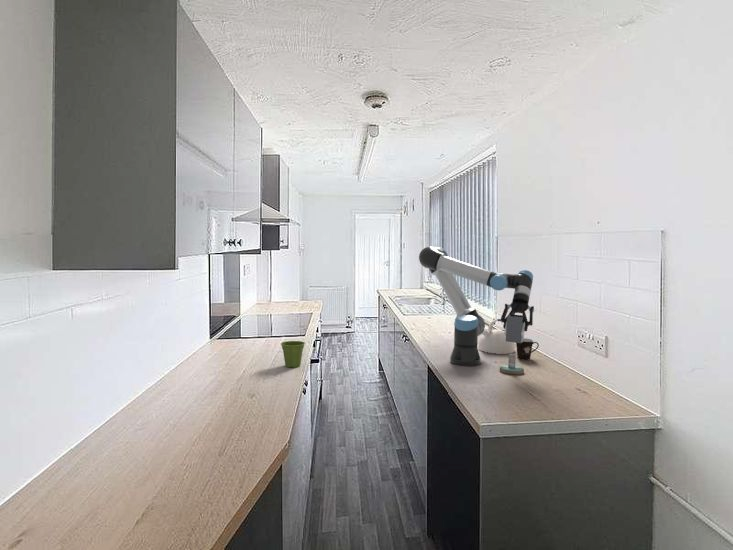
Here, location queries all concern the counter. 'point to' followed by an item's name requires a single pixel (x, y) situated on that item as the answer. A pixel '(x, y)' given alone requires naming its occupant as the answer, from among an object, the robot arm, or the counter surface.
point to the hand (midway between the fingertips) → (513, 334)
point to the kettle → (495, 341)
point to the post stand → (511, 367)
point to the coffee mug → (525, 349)
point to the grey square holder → (514, 328)
